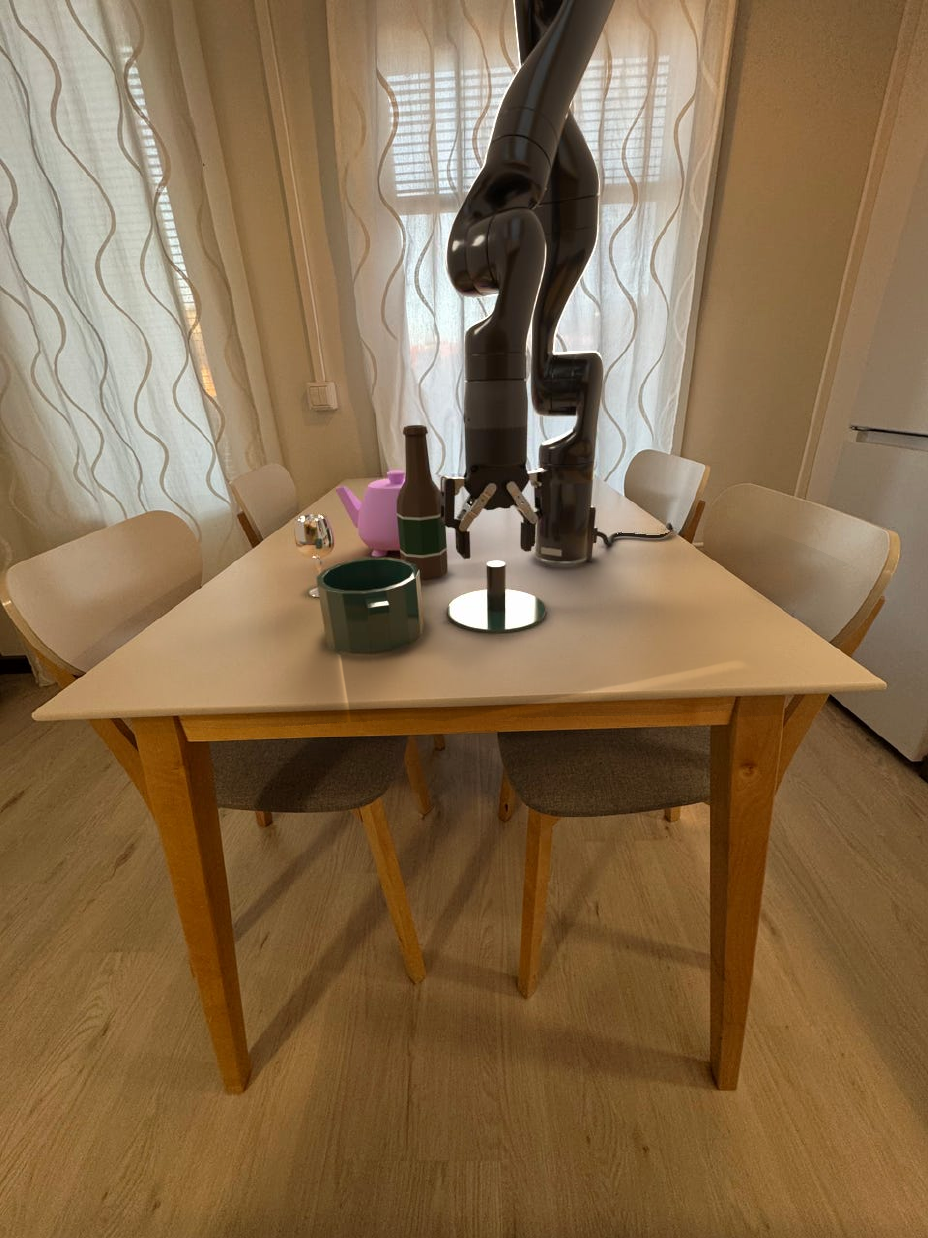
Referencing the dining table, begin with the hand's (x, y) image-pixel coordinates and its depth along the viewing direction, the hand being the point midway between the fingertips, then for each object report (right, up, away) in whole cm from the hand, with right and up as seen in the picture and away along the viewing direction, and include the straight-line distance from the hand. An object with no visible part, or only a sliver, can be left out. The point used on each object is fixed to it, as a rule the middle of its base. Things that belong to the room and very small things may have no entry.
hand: (496, 553), depth 66 cm
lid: (0, -8, +4) cm, 9 cm away
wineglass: (-27, -4, +14) cm, 31 cm away
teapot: (-18, +6, +35) cm, 40 cm away
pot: (-16, -11, 0) cm, 19 cm away
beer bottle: (-11, -1, +19) cm, 22 cm away
